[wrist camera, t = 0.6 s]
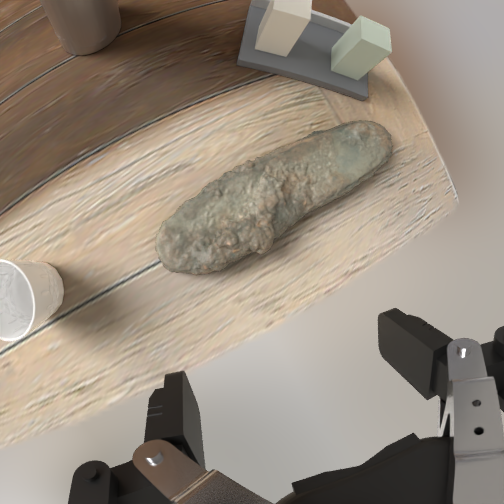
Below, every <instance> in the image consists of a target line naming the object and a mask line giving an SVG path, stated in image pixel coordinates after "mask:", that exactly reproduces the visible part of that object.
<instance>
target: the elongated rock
mask: <svg viewBox="0 0 504 504" xmlns="http://www.w3.org/2000/svg"><path fill="white" fill-rule="evenodd" d="M392 147H393V146H392V142H391V134H390V133H389V132H387V130H386V129H385V127H383V126H382V125H380V124H377V123H375V122H372V121H352V122H348V123H343V124H341V125H339V126H336V127H334V128H332V129H329V130H326V131H314V132H312V133H311V134H309V135H308V136H307V137H304V138H303V140H301V141H297V142H295V143H292V144H289V145H287V146H284V147H280V148H278V149H276V150H274V151H273V152H270V153H269V154H266V155H264V156H262V157H256V158H255V161H250V160H248V161H246V163H245V164H243V165H240V166H236V167H235V168H234V169H233V171H229V172H227V173H224V174H223V176H221V177H220V178H219V179H218V180H215V181H213V182H212V183H209V184H208V185H207V186H205V187H204V188H203V189H202V190H201V192H200V193H199V194H198V195H197V196H196V197H194V198H192V199H190V200H187V201H185V202H184V204H183V205H182V206H180V207H179V208H178V209H177V210H176V213H175V214H174V215H173V216H171V217H170V218H169V219H167V220H165V221H164V222H163V223H162V225H161V227H160V229H159V232H158V234H157V235H156V246H155V249H156V251H157V254H158V256H159V259H160V260H161V262H162V263H163V265H164V267H165V268H166V269H168V270H169V271H170V272H176V273H184V272H185V273H191V274H194V275H198V274H209V273H211V272H213V271H221V270H222V269H224V268H226V267H227V266H228V264H229V263H230V262H235V261H236V260H240V259H241V258H242V257H243V256H245V255H248V254H250V253H252V252H256V253H258V254H264V253H265V252H267V251H268V250H270V249H271V246H272V244H273V239H276V238H279V237H280V236H281V235H282V234H283V233H284V232H285V231H286V230H287V228H288V227H291V226H293V225H294V224H295V223H296V222H297V221H299V220H300V219H301V218H302V217H304V216H305V214H307V213H308V212H310V211H312V210H315V209H317V208H319V207H321V206H324V205H326V204H328V203H329V202H331V201H332V200H334V199H338V198H339V197H341V196H343V195H344V194H346V193H348V192H349V191H351V190H352V189H353V188H354V187H356V186H358V185H359V184H360V183H361V182H362V181H365V180H367V179H369V178H371V177H372V176H373V175H374V172H375V171H377V170H378V169H379V168H380V167H381V166H382V165H383V164H385V163H386V162H388V161H389V160H388V159H389V158H390V157H391V156H392V152H391V150H392Z"/></svg>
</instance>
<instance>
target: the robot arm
mask: <svg viewBox="0 0 504 504" xmlns="http://www.w3.org/2000/svg"><path fill="white" fill-rule="evenodd" d="M40 2H41V4H42V6H43V8H44V10H45V13H46V15H47V17H48V19H49V21H50V23H51V25H52V27H53V29H54V31H55V33H56V35H57V37H58V39H59V41H60V43H61V45H62V47H63V49H64V50H65V51H66V52H68V53H70V54H73V55H87V54H91V53H94V52H97V51H99V50H101V49H103V48H104V47H106V46H107V45H108V44H110V43H111V42H112V41H113V40H114V39H115V38H116V36H117V35H118V33H119V31H120V28H121V18H120V12H119V7H118V0H40ZM378 339H379V340H378V342H379V350H380V353H381V355H382V357H383V358H384V359H385V360H386V361H387V362H388V363H389V364H390V365H391V366H392V367H393V368H394V369H395V370H396V371H397V372H398V373H400V374H401V376H402V377H404V378H405V379H406V380H407V381H408V382H409V383H410V384H411V385H412V386H413V387H414V388H415V389H416V390H417V391H418V392H419V393H420V394H421V395H422V396H423V397H424V398H426V400H429V399H431V398H432V397H434V396H436V395H438V396H439V397H440V398H439V405H438V406H439V407H438V433H437V437H429V438H423V439H419V438H418V437H417V436H416V435H415V434H414V433H412V434H410V435H408V436H406V437H404V438H402V439H400V440H398V441H397V442H395V443H392V444H390V445H388V446H386V447H385V448H384V449H383V450H381V451H380V452H379V453H377V454H376V455H375V456H374V457H372V458H370V459H369V460H368V461H366V462H365V463H363V464H362V465H360V466H357V467H351V468H346V469H340V470H335V471H329V472H323V473H321V474H318V475H315V476H312V477H309V478H306V479H303V480H300V481H296V482H293V483H292V487H293V491H294V492H292V493H290V494H288V495H287V496H285V497H284V498H282V499H281V500H279V501H278V502H277V503H276V504H504V433H503V425H502V418H501V412H500V409H501V410H502V411H503V412H504V326H503V327H500V328H498V329H497V330H496V332H495V335H494V341H492V342H488V343H485V344H481V345H480V344H479V343H478V342H477V341H475V340H472V339H468V338H461V339H456V340H453V339H451V338H450V337H448V336H447V335H445V334H444V333H442V332H441V331H439V330H437V329H436V328H434V327H433V326H431V325H430V324H427V322H425V321H424V320H422V319H421V318H419V317H416V316H412V315H406V314H405V313H403V312H402V311H400V310H399V309H397V308H393V309H391V310H388V311H386V312H383V313H380V314H379V316H378ZM147 416H148V417H147V420H146V421H147V422H146V430H145V438H144V443H143V444H142V445H140V446H139V447H138V448H137V449H136V450H135V452H134V454H133V458H132V460H131V461H129V462H127V463H124V464H121V465H118V466H115V467H113V468H109V466H108V465H107V464H106V463H104V462H102V461H89V462H86V463H84V464H82V465H81V466H80V467H78V468H77V470H76V471H75V473H74V475H73V479H72V484H71V490H70V495H69V501H68V504H273V503H271V502H269V501H268V500H266V499H264V498H262V497H260V496H258V495H257V494H255V493H253V492H252V491H250V490H248V489H246V488H245V487H243V486H241V485H240V484H238V483H236V482H235V481H233V480H232V479H230V478H229V477H227V476H225V475H224V474H222V473H220V472H219V471H217V470H212V471H210V472H208V471H207V470H206V469H205V460H204V451H203V441H202V431H201V422H200V421H201V420H200V412H199V408H198V404H197V401H196V399H195V396H194V394H193V391H192V389H191V386H190V383H189V381H188V378H187V376H186V373H185V372H184V371H179V372H175V373H170V374H166V375H165V380H164V388H159V389H155V391H154V392H153V394H152V395H151V397H150V398H149V404H148V413H147Z"/></svg>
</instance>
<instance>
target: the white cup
mask: <svg viewBox="0 0 504 504" xmlns="http://www.w3.org/2000/svg"><path fill="white" fill-rule="evenodd" d="M63 296H64V287H63V282H62V278H61V277H60V275H59V274H58V272H57V270H56V269H55V268H54V267H52V266H51V265H49V264H48V263H46V262H37V261H32V260H3V259H0V339H1V340H4V341H17V340H20V339H21V338H23V337H24V336H26V335H27V334H28V333H30V332H31V331H32V330H34V329H35V328H36V327H38V326H39V325H41V324H42V323H43V322H44V321H46V320H47V319H48V318H49V317H50V316H51V315H52V314H54V313H55V312H56V311H57V310H58V308H59V307H60V306H61V304H62V301H63Z"/></svg>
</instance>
